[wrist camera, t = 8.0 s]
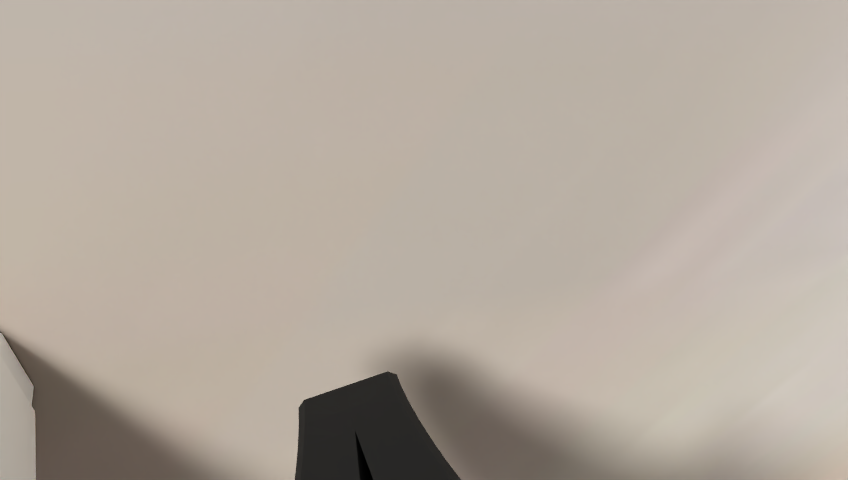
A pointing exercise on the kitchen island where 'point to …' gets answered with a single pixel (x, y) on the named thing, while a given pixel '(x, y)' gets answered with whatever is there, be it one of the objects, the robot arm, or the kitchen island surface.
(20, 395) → the foam cup
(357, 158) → the kitchen island surface
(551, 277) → the kitchen island surface
